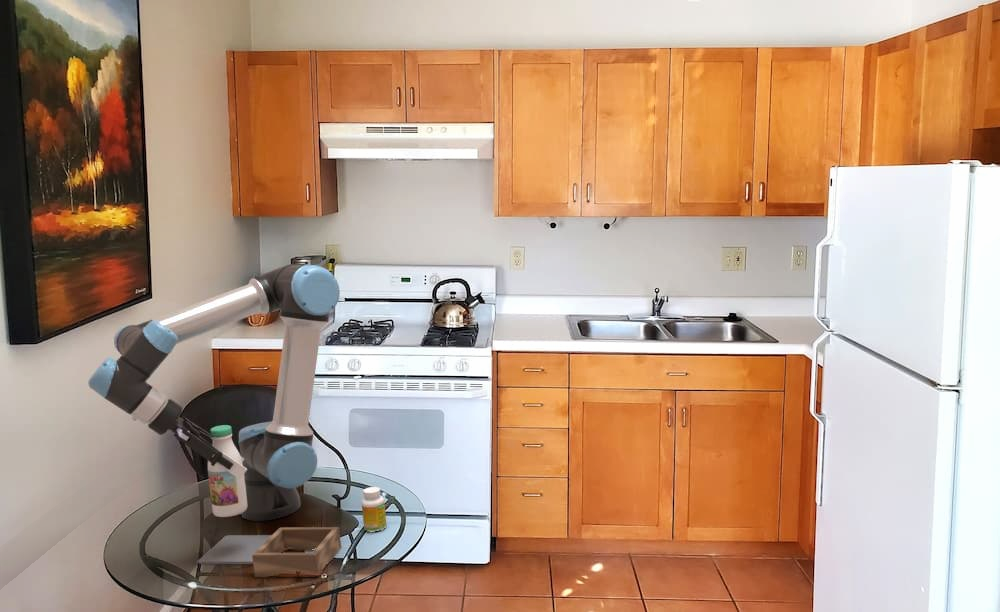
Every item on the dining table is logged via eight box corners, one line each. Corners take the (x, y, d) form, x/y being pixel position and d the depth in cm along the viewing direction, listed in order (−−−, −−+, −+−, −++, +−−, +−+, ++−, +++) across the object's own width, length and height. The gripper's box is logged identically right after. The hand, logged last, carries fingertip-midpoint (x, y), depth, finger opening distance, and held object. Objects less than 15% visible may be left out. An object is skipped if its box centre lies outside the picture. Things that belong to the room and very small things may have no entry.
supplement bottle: (382, 533, 201) (378, 494, 199) (360, 532, 202) (356, 493, 200) (389, 523, 206) (386, 485, 204) (368, 523, 207) (365, 485, 205)
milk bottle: (228, 503, 200) (218, 421, 197) (255, 506, 197) (245, 423, 194) (205, 516, 193) (195, 431, 190) (232, 519, 190) (222, 433, 187)
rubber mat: (226, 537, 205) (226, 535, 205) (280, 537, 202) (280, 535, 202) (197, 564, 191) (196, 561, 191) (255, 564, 189) (255, 561, 189)
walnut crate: (282, 548, 196) (279, 527, 196) (341, 547, 194) (339, 527, 193) (254, 577, 182) (252, 555, 182) (318, 577, 180) (315, 555, 179)
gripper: (147, 414, 195) (228, 469, 203) (144, 436, 177) (234, 496, 185) (169, 388, 197) (248, 444, 204) (168, 408, 178) (256, 468, 186)
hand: (241, 468), depth 195 cm, fingers closed on milk bottle, 7 cm apart
